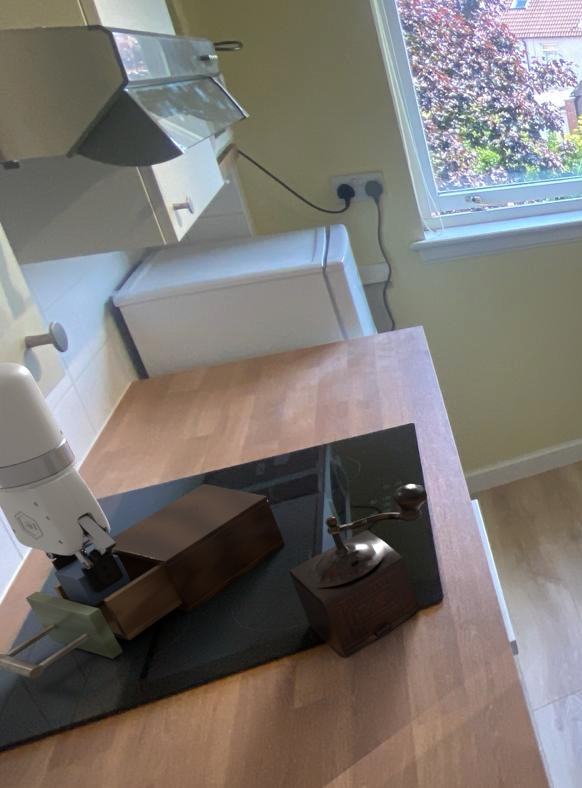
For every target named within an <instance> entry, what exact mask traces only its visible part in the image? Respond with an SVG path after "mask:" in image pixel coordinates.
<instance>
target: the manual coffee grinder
mask: <svg viewBox="0 0 582 788" xmlns="http://www.w3.org/2000/svg"><path fill="white" fill-rule="evenodd" d="M427 499H428V494H427V491H426V489H425V488H424V486H423V485H419V484H414V483H408V484H405V485H401V486H399V487H398V488H396V490H395V492H394V495H393V500H394V502H395V503H396V504H397V505H398V506H399V508H400V512H393V511H392V512H382V513H378V514H374V515H371V516H368V517H364V518H361V519H358V520H355V521H351V522H348V523H345V524H341V525H340V524H338V518H337V517H336V516H329V517H327V518H326V520H325V521H324V522H325V524H326V526H327V527H328V528H327V533H328V534H329V535H330V536H331V537H332V539H333V542H334V544H335V546H333V547H331V548H329V549H327V550H325V551H323V552H321V553H319V554H318V555H315V556H313V557H311V558H310V559H308V560H306V561H304V562H302V563H300V564H299V565H296V566H295V567H293V568H291V569H289V575H290V577H291V580H292V582H293V585H294V588H295V590H296V593H297V597H298V599H299V601H300V604H301V606H302V609H303V611H304V614H305V616H306V619H307V622H308V624H309V625H310V627H311V628H312V629H313V631H314V632H315V633H316V634H317V635H318V636H319V637H320V638H321V639H322V640H323V641H324V643H326V644H327V645H328V646H329V647H330V649H332V650H333V651H334V652H335V653H336V654H337V655H338V657H341V658H342V657H343V658H347V657H349V656H351V655H352V654H354V653H356V652H358V651H359V650H361V649H363V648H364V647H366V646H367V645H368V646H369V644H371V643H373V642H375V641H376V640H378V639H380V638H381V637H383V636H384V635H386V634H387V633H390V631H392V630H393V629H394V628H396V627H397V626H399V625H401V624H402V623H403V622H405V621H406V620H407V619H409V618H410V617H412V615H414V614H415V613H416V612H417V611H419V610H420V609H421V606H420V604H419V602H418V600H417V597H416V594H415V592H414V589H413V585H412V582H411V578H410V575H409V572H408V569H407V568H408V567H407V565H406V562H405V559H404V558H403V556H402V555H401V554H400V553H398V552H397V551H396V550H395V549H394V548H393V547H392V546H390V545H389V544H388V543H386V542H385V541H384V540H383V539H381V538H379V537H378V536H377V535H375V534H374V533H373V532H371V531H369V530H368V529H366V530H364V531H362V532H360V533H358V534H356V535H354V536H352V537H350V538H347V539H346V540H344V541H343V538H342V535H341V533H342V532H347V531H352V530H356V529H358V528H362V527H364V526H367V525H370V524H373V523H377V522H380V521H385V520H386V521H387V520H395V521H399V520H400V521H402V522H409V523H410V522H415V521H417V520H420V519H421V518H423V513H422V511H421V507H422V506H423V505H424V503H425V502H426V501H427Z"/></svg>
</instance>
